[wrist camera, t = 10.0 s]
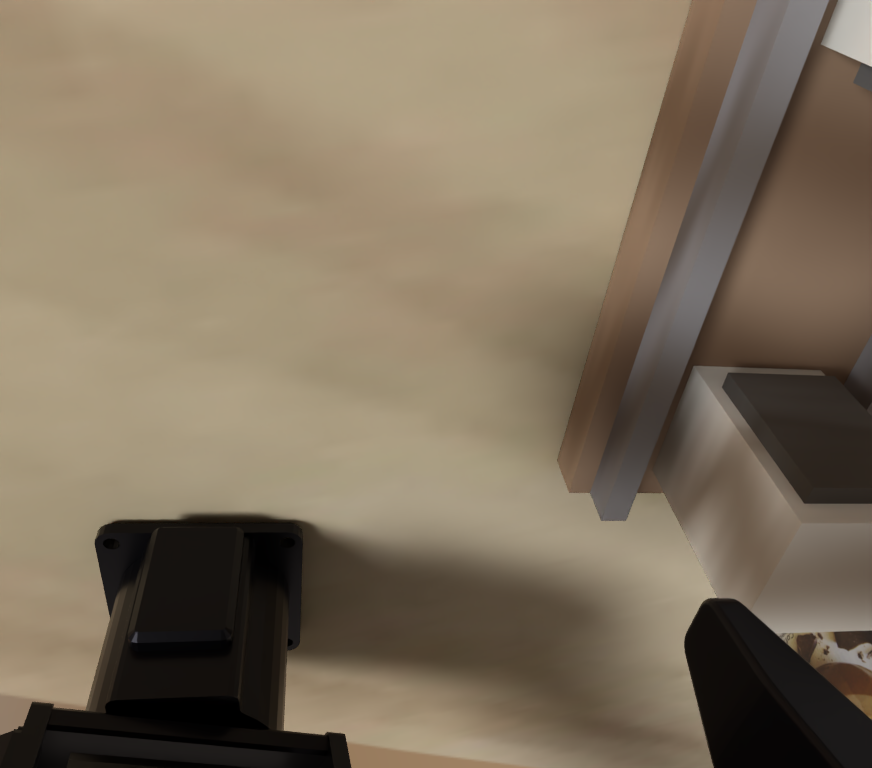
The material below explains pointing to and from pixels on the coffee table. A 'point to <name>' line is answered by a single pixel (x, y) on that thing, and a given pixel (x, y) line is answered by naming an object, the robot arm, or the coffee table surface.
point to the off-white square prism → (853, 36)
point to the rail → (746, 320)
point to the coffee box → (839, 661)
